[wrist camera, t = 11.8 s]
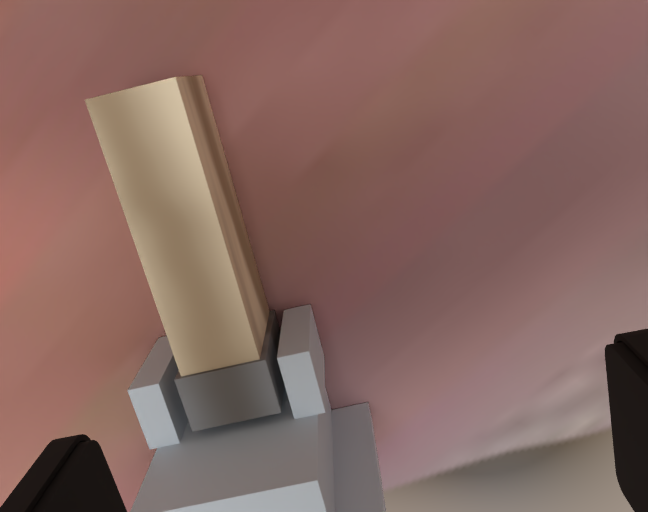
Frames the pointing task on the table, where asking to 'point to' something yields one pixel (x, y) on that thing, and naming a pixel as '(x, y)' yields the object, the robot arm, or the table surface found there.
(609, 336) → the table surface
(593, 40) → the table surface
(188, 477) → the gray forked clamp
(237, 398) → the tan and gray block
